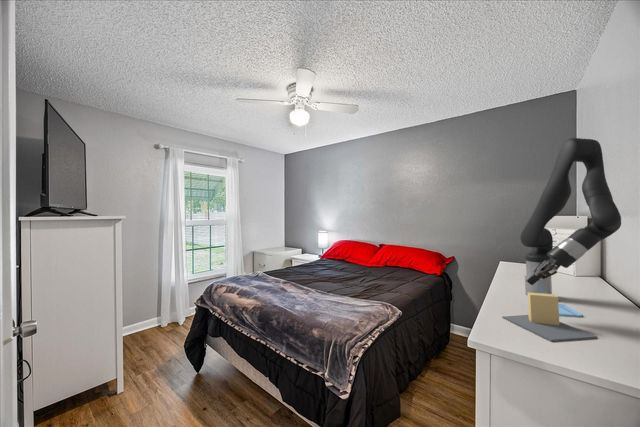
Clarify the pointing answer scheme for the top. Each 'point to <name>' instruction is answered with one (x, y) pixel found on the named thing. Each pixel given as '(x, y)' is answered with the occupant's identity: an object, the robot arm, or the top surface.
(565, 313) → the light blue flat slab
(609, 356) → the top surface
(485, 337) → the top surface
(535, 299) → the yellow block
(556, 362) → the top surface
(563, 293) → the top surface
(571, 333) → the mat
